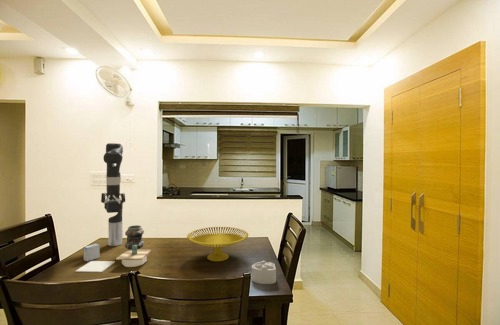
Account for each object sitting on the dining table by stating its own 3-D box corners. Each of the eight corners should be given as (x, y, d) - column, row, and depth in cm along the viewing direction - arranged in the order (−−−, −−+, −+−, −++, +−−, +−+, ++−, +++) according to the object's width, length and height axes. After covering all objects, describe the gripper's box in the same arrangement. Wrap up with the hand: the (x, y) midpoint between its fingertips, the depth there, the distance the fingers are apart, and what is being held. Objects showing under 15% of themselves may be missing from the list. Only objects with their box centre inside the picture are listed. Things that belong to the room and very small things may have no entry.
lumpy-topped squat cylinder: (276, 284, 136) (276, 267, 135) (251, 284, 135) (251, 267, 135) (274, 275, 146) (274, 259, 146) (251, 275, 146) (251, 259, 146)
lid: (128, 250, 168) (128, 241, 168) (151, 250, 168) (151, 241, 168) (115, 259, 153) (115, 249, 153) (141, 260, 153) (141, 250, 153)
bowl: (129, 258, 167) (129, 251, 167) (149, 259, 167) (149, 251, 167) (118, 267, 154) (118, 258, 154) (140, 267, 154) (140, 259, 154)
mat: (91, 261, 162) (91, 261, 162) (115, 262, 161) (115, 261, 161) (75, 271, 148) (75, 270, 148) (101, 272, 147) (101, 271, 147)
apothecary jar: (147, 250, 183) (147, 224, 183) (138, 256, 171) (138, 229, 171) (131, 249, 184) (131, 224, 184) (121, 255, 172) (120, 228, 172)
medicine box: (96, 256, 171) (96, 243, 170) (100, 257, 168) (99, 244, 168) (83, 260, 164) (83, 246, 164) (87, 262, 162) (87, 248, 161)
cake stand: (240, 273, 148) (240, 247, 147) (175, 266, 156) (175, 241, 155) (253, 248, 187) (253, 228, 187) (200, 244, 195) (201, 224, 195)
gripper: (127, 183, 168) (127, 208, 169) (105, 183, 169) (105, 208, 169) (121, 184, 161) (121, 210, 161) (98, 184, 161) (98, 210, 162)
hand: (113, 209), depth 165 cm, fingers open, 8 cm apart
